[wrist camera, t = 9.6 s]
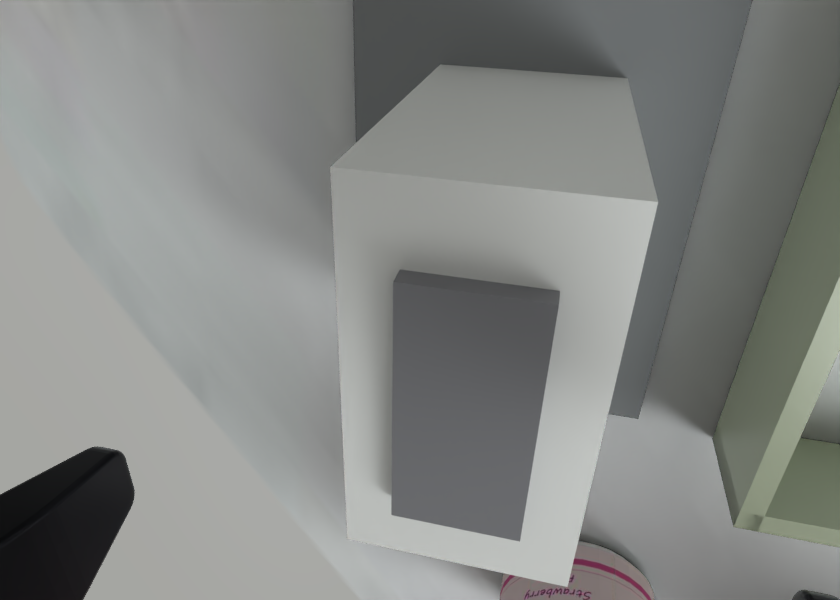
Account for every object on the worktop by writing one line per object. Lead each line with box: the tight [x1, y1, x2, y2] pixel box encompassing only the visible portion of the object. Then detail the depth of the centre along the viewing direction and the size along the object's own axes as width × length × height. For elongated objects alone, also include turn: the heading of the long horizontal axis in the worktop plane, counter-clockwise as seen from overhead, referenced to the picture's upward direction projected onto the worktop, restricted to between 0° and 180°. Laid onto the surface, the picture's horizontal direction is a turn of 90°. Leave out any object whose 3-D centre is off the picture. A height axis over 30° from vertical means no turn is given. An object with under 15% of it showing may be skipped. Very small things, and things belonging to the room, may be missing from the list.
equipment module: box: [330, 64, 658, 587], centre depth 14 cm, size 8×4×8 cm, turn 178°
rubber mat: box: [353, 0, 752, 419], centre depth 18 cm, size 12×9×1 cm
